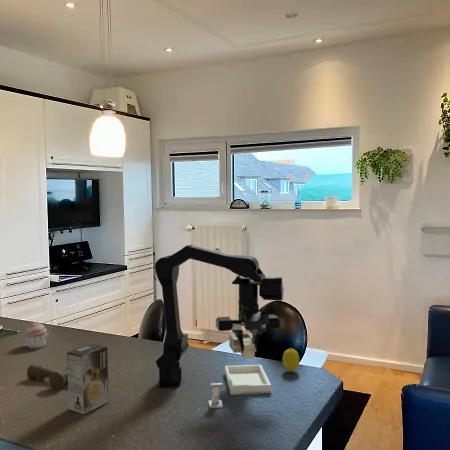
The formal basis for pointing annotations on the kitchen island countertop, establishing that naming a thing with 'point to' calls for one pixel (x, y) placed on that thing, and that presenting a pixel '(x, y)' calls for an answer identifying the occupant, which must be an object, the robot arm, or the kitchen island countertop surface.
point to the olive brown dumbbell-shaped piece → (48, 375)
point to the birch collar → (248, 345)
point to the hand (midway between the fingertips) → (248, 350)
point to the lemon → (290, 359)
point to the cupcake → (36, 336)
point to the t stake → (215, 396)
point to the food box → (87, 378)
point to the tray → (247, 379)
